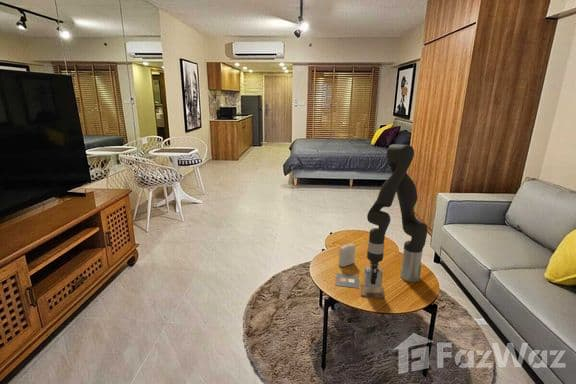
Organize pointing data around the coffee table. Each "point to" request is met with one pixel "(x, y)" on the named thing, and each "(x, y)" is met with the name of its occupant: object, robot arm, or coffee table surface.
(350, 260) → the photo printer
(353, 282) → the tile
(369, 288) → the walnut mat
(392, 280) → the coffee table surface
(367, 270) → the medicine box
